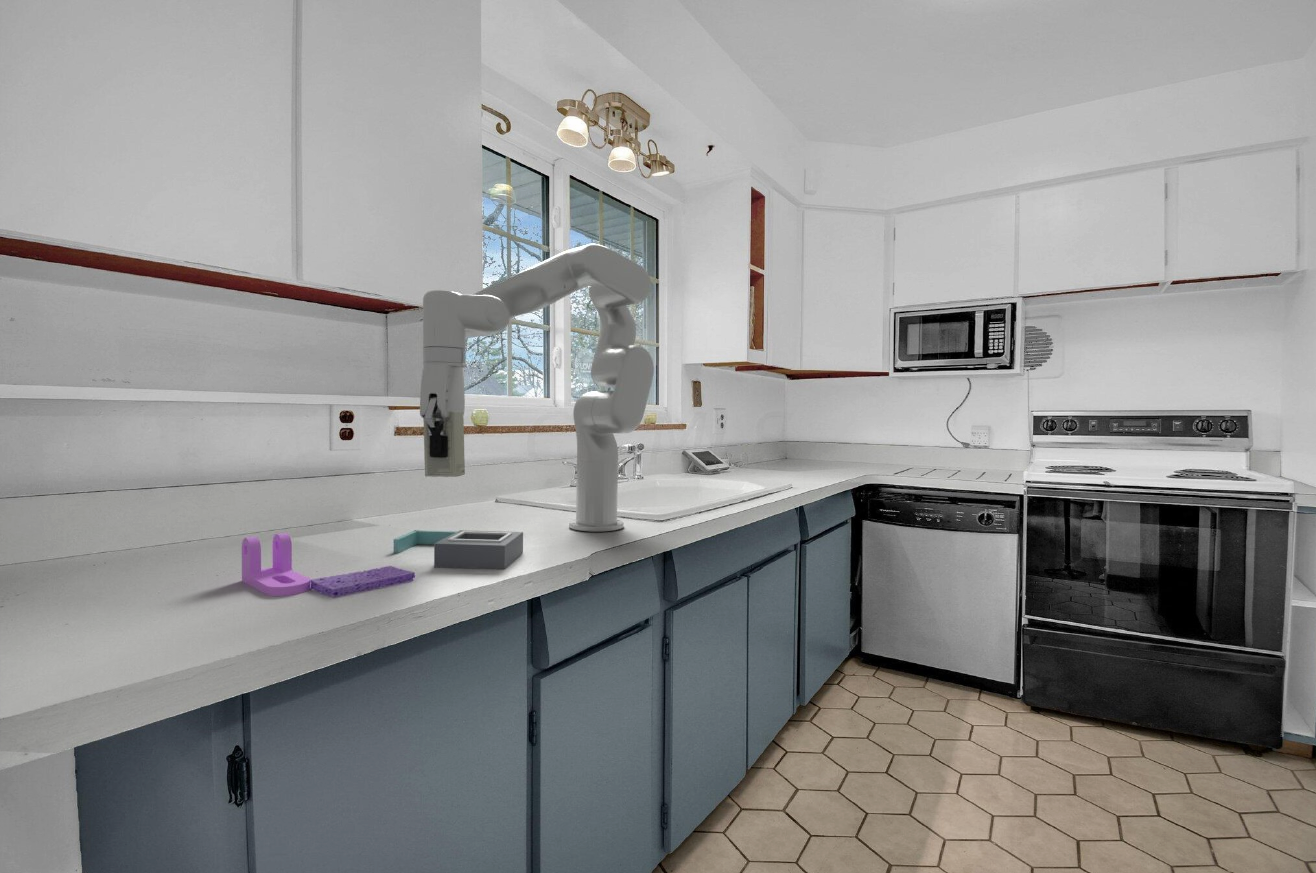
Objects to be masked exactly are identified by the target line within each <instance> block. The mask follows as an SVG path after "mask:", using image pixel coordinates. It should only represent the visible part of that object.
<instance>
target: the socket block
mask: <svg viewBox="0 0 1316 873" xmlns="http://www.w3.org/2000/svg"><path fill="white" fill-rule="evenodd" d="M433 545H434V546H433V552H434V554H433V557H434V558H433V561H434V562H433V568H448V569H449V568H450V569H453V568H454V569H455V568H456V569H484V570H485V569H486V570H487V569H488V570H489V569H490V570H506V569H507V568H508V567H509V566H510V565H511V564H512V563H514V562H515V560H517V559H518V558H520V556H521V555H523V554H524V531H499V530H497V531H496V530H495V531H494V530H493V531H492V530H467V529H465V530H464V529H463V530H458V532H456V533H454V534H452V535H450V536H448V537H446V538H444V539H442V540H440V541H438V542H436V543H435V544H433ZM522 553H523V554H522ZM507 566H508V567H507Z"/></svg>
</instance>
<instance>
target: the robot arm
mask: <svg viewBox="0 0 1316 873" xmlns="http://www.w3.org/2000/svg"><path fill="white" fill-rule="evenodd" d="M586 287H588V295H589V298H590V300H591V302H592V304H593V305H594V306H593V307H595V309H596V311H597V313H598V316H599V320H600V331H599V336H598V340H597V343H596V347H595V350H594V355H593V359H592V363H591V367H590V377H591V379H592V381H593V383H594V384H596V386H599V387H602V388H606V389H607V388H610V389H611V388H612V389H614V390H595V391H594V390H593V391H588V392H585V393H584V394H582V395H580V396H579V397H578V399H576V402H575V403H574V406H573V413H572V414H573V415H572V416H573V422H574V428H575V429H574V430H575V434H576V458H577V459H576V500H575V502H576V503H575V504H576V505H575V506H576V507H575V508H576V509H575V510H576V511H575V519H572V520H570V521H569V522H568V526H569V528H570V529H572V530H575V531H580V532H591V533H592V532H593V533H594V532H596V533H597V532H601V533H603V532H612V531H618V530H622V529H623V528H624V527H625V526H624V521H623V520H620V519H618V487H619V486H618V484H619V482H618V481H619V480H618V477H619V475H618V474H619V472H618V471H619V448H618V444H617V441H616V438H615V435H614V434H629V433H632V432H634V431H635V430H636V429H638V427H639V426H640V424H641V423H642V421H643V418H644V415H645V411H646V408H647V403H648V400H649V396H650V393H651V392H650V391H651V388H652V384H653V379H654V372H655V371H654V362H653V357H652V356H651V354H650V352H649V351H648V350H647V349H646V348H644V346H643V347H642V346H640V345H635V342H636V336H637V325H636V322H635V320H634V317H633V315H632V313H631V311H630V310H629V308H628V306H629V305H636V304H640V303H642V302H644V301H645V300H646V299H647V298H648V297H649V296H650V294H651V291H652V280H651V277H650V275H649V272H648V271H647V270H646V269H645V268H644V267H643V266H641V265H640V264H639V263H637V262H635V261H633V260H632V259H629V258H627V257H626V256H624V255H622V254H621V253H618V252H617V251H615V250H613V249H611V248H609V247H607V246H605V245H601V244H598V243H597V244H596V243H588V244H586V245H582V246H579V247H575V248H574V247H573V248H571V249H568V250H566V251H563V252H561V253H558V254H557V255H554V256H552V257H550V258H547V259H545V260H544V261H542V262H540V263H537V264H535V265H533V266H531V267H528V268H526V269H524V270H523V271H520V272H518V273H515V274H513V275H512V276H510V277H508V278H506V279H503V280H502V281H500V282H497V283H495V284H493V285H490V286H489V287H486V288H484V289H481V290H479V291H477V292H475V293H472V294H461V293H459V292H456V291H450V290H438V289H437V290H436V289H435V290H430V291H427V292H426V293H425V294H424V296H423V298H422V299H423V300H422V311H423V312H422V339H423V340H422V343H423V344H422V366H423V368H422V374H421V381H420V394H419V415H420V417H421V419H425V421H426V422H427V425H428V427H429V436H430V457H435V458H446V457H447V456H448V436H445V434H446V425H447V419H449V418H450V415H451V412H463V416H464V415H465V407H466V405H465V404H466V403H465V400H466V399H465V396H466V395H465V381H464V370H463V368H464V369H465V368H466V365H467V364H466V361H467V360H466V359H467V358H466V357H467V356H466V352H467V351H466V350H467V349H466V346H467V345H466V343H467V342H466V340H467V339H469V338H471V339H472V338H476V337H485V336H491V335H496V334H499V333H500V332H502V331H504V330H505V329H506V328H507V326H508V325H509V323H510V319H511V318H514V317H518V316H522V315H526V314H530V313H534V312H537V311H540V310H542V309H545V308H547V307H549V306H550V305H553V304H554V303H555V304H556V302H558V301H560V300H562V299H563V298H565V297H566V296H569V295H571V294H573V293H575V292H576V291H579V290H581V289H583V288H586ZM435 415H441V416H442V418H435ZM439 422H441V426H440V423H439Z"/></svg>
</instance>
